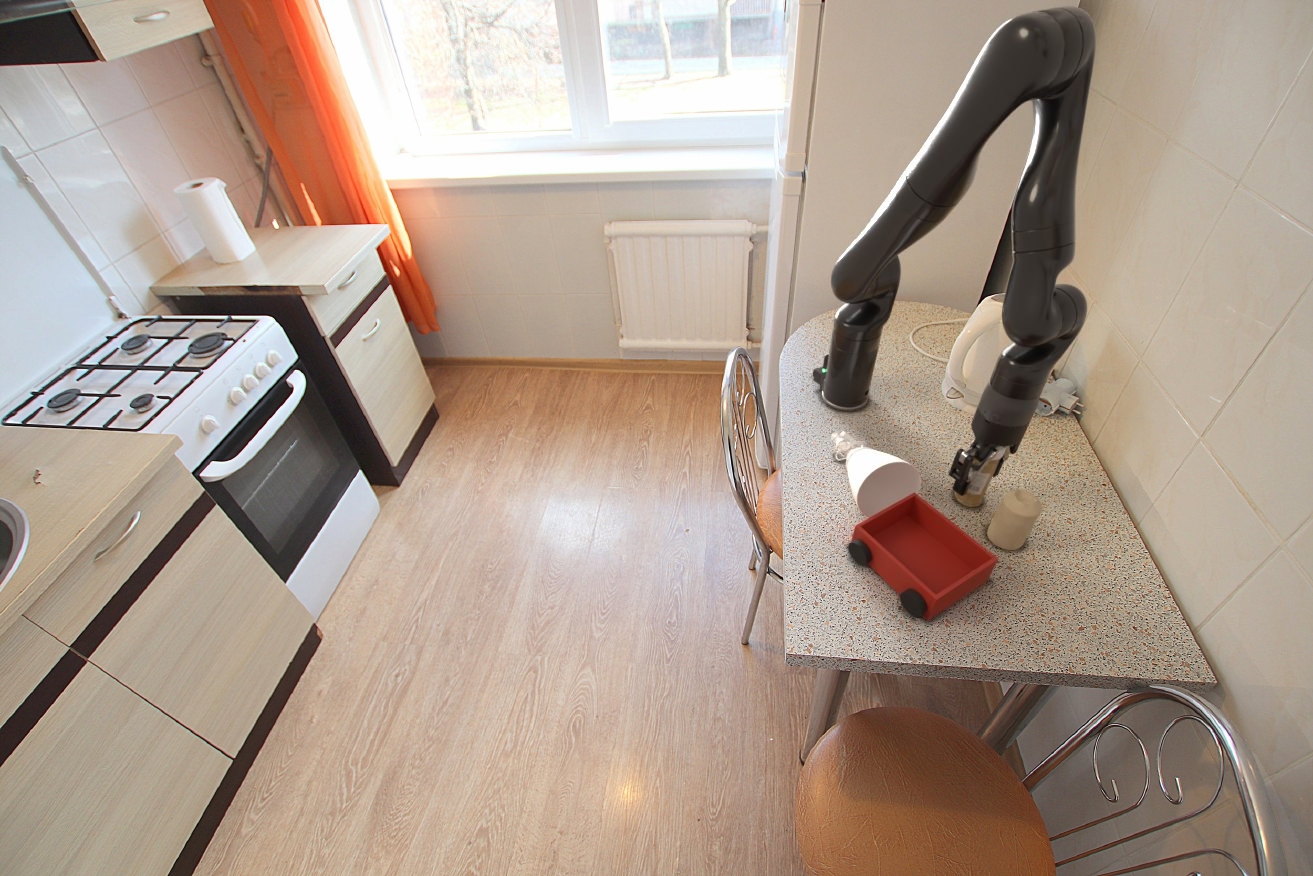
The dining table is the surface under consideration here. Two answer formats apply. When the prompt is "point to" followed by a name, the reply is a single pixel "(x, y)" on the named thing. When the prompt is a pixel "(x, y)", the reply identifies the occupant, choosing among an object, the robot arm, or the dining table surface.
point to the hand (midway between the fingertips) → (974, 482)
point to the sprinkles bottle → (980, 482)
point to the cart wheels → (908, 598)
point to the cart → (924, 553)
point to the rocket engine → (876, 475)
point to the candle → (1014, 519)
